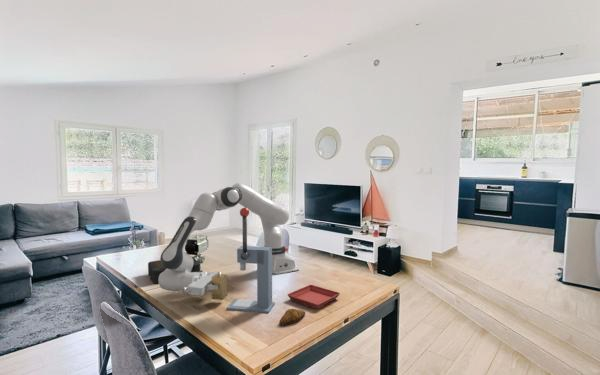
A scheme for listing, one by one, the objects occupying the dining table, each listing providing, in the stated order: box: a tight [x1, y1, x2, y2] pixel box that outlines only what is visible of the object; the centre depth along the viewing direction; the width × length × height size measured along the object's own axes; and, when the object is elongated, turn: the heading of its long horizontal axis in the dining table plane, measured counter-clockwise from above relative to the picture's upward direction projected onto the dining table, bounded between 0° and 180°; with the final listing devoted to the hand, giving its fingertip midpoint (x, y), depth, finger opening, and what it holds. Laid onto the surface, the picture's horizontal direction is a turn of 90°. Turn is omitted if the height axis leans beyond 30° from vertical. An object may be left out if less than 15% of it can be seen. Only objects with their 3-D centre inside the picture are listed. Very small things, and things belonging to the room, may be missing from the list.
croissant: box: [279, 308, 306, 326], centre depth 134 cm, size 14×7×5 cm, turn 135°
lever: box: [239, 207, 250, 260], centre depth 140 cm, size 4×4×22 cm
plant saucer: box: [287, 284, 341, 310], centre depth 154 cm, size 18×18×3 cm
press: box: [225, 245, 275, 314], centre depth 146 cm, size 19×10×26 cm, turn 80°
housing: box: [211, 271, 228, 301], centre depth 150 cm, size 5×5×12 cm
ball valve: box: [184, 234, 209, 263], centre depth 215 cm, size 18×8×18 cm, turn 168°
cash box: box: [147, 255, 201, 285], centre depth 189 cm, size 25×20×8 cm
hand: (221, 284), depth 150 cm, fingers closed on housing, 5 cm apart
